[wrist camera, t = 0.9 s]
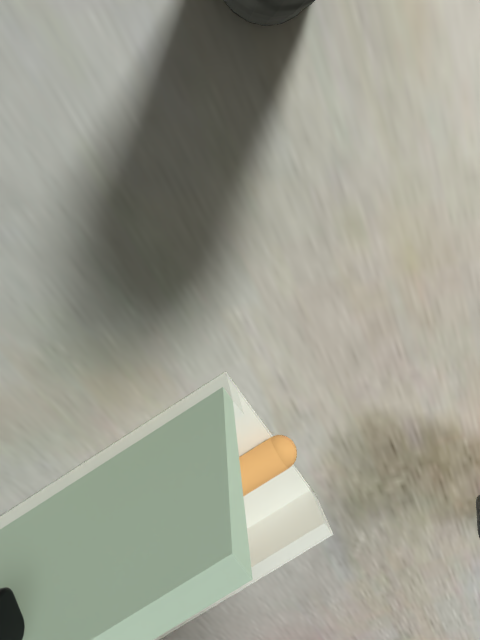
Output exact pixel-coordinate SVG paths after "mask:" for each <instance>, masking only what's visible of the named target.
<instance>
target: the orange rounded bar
mask: <svg viewBox="0 0 480 640" xmlns="http://www.w3.org/2000/svg"><path fill="white" fill-rule="evenodd" d="M296 457H297V450H296V446H295V444H294V443H293V441H292V440H291V439H289V438H288V437H286V436H283V435H276V436H273V437H271V438H269V439H267V440H266V441H264V442H263V443H261V444H260V445H258V446H256V447H255V448H253V449H252V450H250V451H248V452H247V453H245V454H244V455H242V456H240V457H239V461H240V470H241V479H242V488H243V496H245V495H247V494H248V493H250V492H251V491H253V490H255V489H256V488H258V487H260V486H261V485H263V484H264V483H266V482H268V481H269V480H271V479H272V478H274V477H276V476H277V475H279V474H280V473H282V472H284V471H285V470H287V469H289V468H290V467H291V466H292V465H293V464H294V462H295V460H296Z"/></svg>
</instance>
